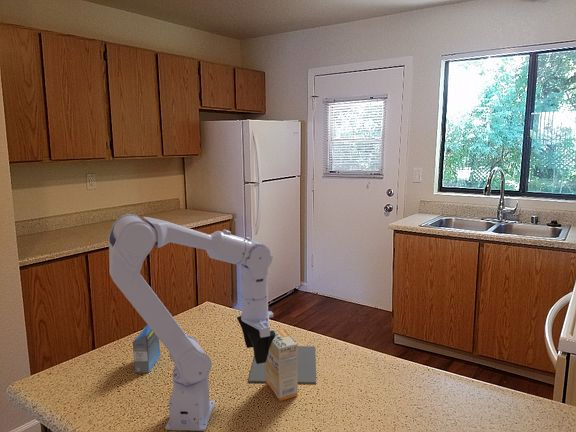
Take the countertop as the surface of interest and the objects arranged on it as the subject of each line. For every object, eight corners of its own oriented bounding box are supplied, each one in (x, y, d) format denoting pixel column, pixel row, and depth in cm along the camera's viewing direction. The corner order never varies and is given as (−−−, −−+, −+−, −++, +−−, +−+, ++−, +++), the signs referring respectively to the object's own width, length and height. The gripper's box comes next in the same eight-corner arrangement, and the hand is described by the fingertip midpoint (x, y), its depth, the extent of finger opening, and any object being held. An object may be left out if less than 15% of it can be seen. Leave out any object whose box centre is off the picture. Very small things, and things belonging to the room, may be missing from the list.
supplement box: (264, 382, 101) (263, 331, 98) (283, 377, 103) (282, 326, 100) (278, 402, 94) (278, 348, 91) (298, 396, 96) (298, 343, 93)
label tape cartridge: (146, 355, 115) (143, 311, 113) (161, 355, 115) (158, 312, 113) (134, 373, 106) (130, 326, 104) (149, 373, 106) (146, 326, 104)
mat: (316, 383, 101) (316, 382, 101) (248, 382, 102) (248, 380, 102) (315, 347, 119) (315, 346, 119) (257, 346, 120) (257, 345, 120)
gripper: (283, 304, 88) (284, 366, 90) (262, 283, 101) (263, 337, 104) (250, 309, 85) (251, 372, 88) (232, 287, 99) (234, 342, 101)
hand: (255, 354), depth 95 cm, fingers open, 7 cm apart
